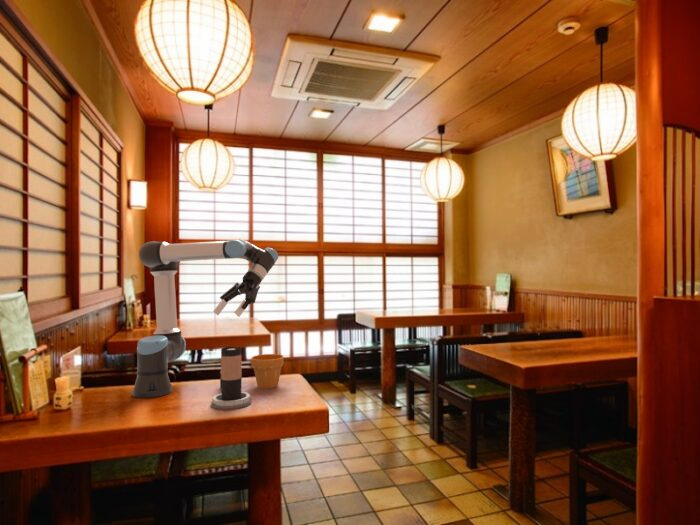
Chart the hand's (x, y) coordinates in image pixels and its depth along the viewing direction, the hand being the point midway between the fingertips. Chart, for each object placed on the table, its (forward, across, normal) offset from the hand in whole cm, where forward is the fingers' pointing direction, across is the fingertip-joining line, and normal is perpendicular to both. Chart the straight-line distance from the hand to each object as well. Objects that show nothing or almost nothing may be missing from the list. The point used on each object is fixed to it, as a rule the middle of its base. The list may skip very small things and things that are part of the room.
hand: (226, 313), depth 175 cm
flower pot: (+9, -1, -39) cm, 40 cm away
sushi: (+17, +10, -31) cm, 37 cm away
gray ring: (+27, -9, -21) cm, 35 cm away
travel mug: (+26, -9, -20) cm, 34 cm away
